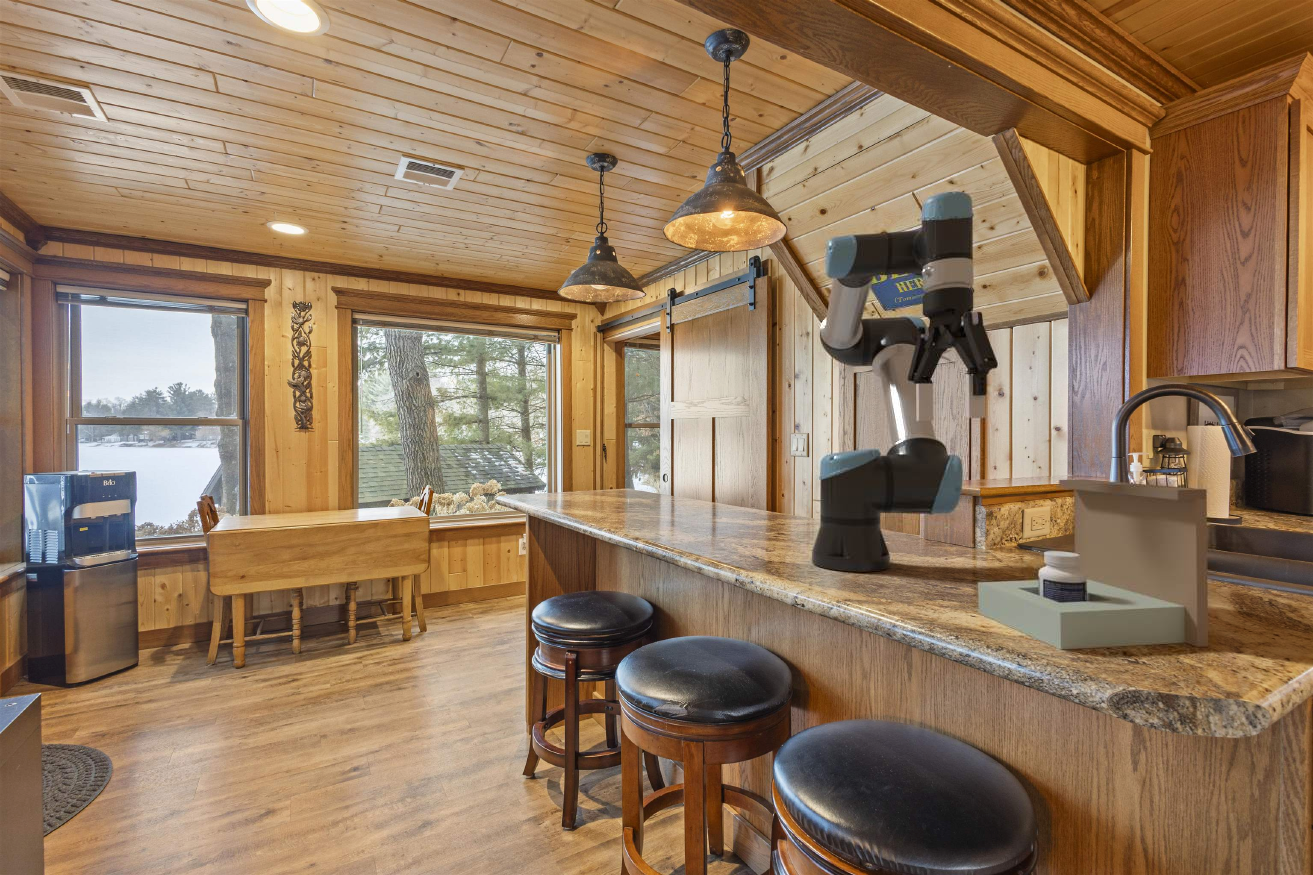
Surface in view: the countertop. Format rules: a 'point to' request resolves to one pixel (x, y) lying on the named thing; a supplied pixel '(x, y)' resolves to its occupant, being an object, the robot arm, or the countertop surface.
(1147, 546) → the socket stand
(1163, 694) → the countertop surface
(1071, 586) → the pill bottle
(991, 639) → the countertop surface
